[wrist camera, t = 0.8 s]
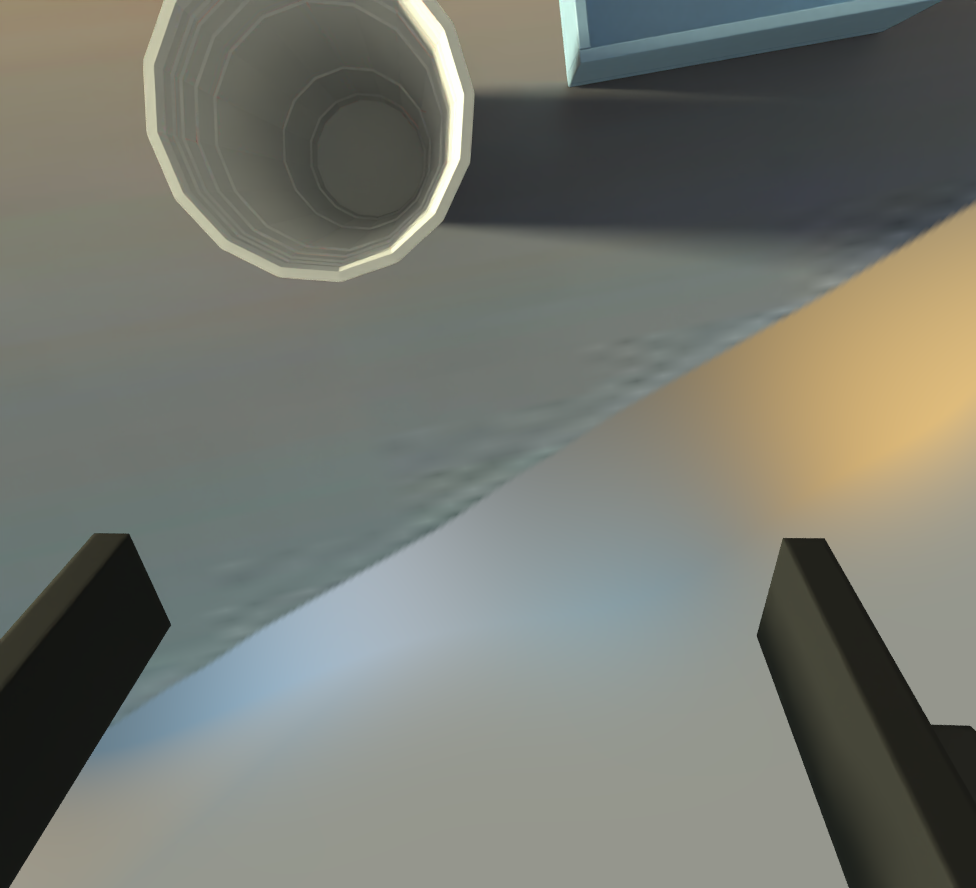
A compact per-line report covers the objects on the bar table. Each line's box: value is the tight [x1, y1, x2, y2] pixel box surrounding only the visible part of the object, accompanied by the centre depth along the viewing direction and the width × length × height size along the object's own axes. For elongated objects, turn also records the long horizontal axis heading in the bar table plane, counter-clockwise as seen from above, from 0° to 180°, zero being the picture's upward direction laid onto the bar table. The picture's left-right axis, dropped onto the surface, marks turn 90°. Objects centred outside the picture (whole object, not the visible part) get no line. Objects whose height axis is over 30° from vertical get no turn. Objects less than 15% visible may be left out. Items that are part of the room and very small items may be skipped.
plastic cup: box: [143, 0, 475, 282], centre depth 26 cm, size 11×11×12 cm
